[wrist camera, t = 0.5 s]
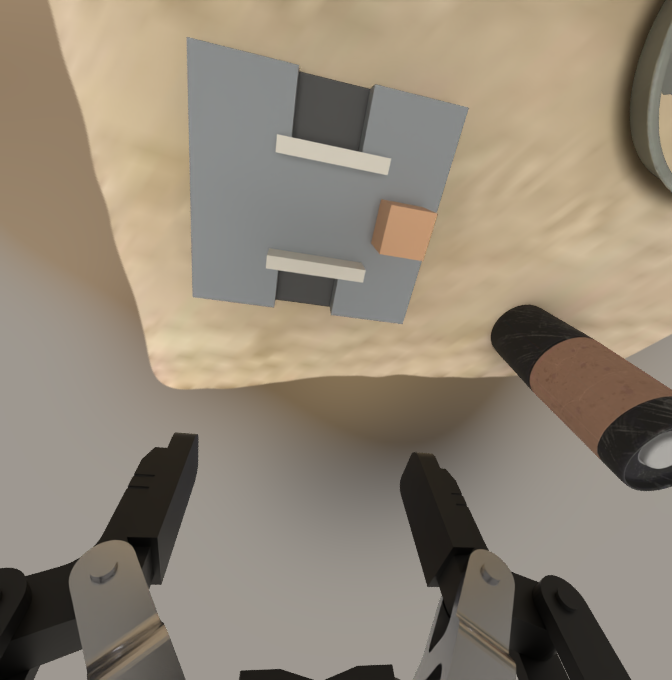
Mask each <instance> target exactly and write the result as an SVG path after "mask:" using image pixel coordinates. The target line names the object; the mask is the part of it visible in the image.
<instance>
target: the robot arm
mask: <svg viewBox="0 0 672 680" xmlns="http://www.w3.org/2000/svg"><path fill="white" fill-rule="evenodd" d="M197 469H198V434H188V433H174V435H173V437H172V439H171V441H170V443H169V446H168V448H159V447H155V448H154V449H153V450H151V452H149V453H148V454H147V455H146V456H145V457H144V458H143V459H142V460H141V462H140V464H139V466H138V468H137V470H136V472H135V474H134V477H133V478H132V479H131V481H130V483H129V485H128V488H127V489H126V491H125V493H124V495H123V497H122V499H121V500H120V502H119V505H118V506H117V508H116V510H115V512H114V514H113V516H112V518H111V520H110V522H109V524H108V525H107V527H106V529H105V531H104V533H103V535H102V537H101V538H100V540H99V541H98V542H97V544H96V545H95V546H94V547H93V548H91V549H90V550H88V551H87V552H86V553H85V554H84V555H83V556H81V557H80V558H79V559H77V560H75V561H73V562H71V563H69V564H66V565H63V566H60V567H57V568H53V569H50V570H46V571H43V572H40V573H35V574H32V575H28V576H24V574H23V573H22V572H21V571H20V570H18V569H14V568H1V569H0V680H34V678H35V675H36V673H37V671H38V669H39V667H40V665H42V664H45V663H47V662H50V661H53V660H55V659H58V658H60V657H63V656H66V655H68V654H71V653H74V652H76V651H79V650H81V649H83V654H84V659H85V663H86V669H87V680H185V677H184V674H183V671H182V669H181V666H180V663H179V661H178V658H177V656H176V653H175V650H174V647H173V645H172V642H171V639H170V637H169V634H168V632H167V629H166V627H165V625H164V623H163V622H161V620H160V618H159V616H158V613H157V611H156V608H155V605H154V602H153V600H152V597H151V594H150V591H149V588H150V585H152V584H155V585H157V584H159V585H161V584H162V581H163V578H164V574H165V572H166V569H167V566H168V562H169V559H170V556H171V553H172V550H173V547H174V544H175V541H176V538H177V535H178V532H179V528H180V525H181V522H182V519H183V516H184V513H185V510H186V507H187V504H188V501H189V498H190V495H191V492H192V488H193V485H194V482H195V478H196V474H197ZM400 492H401V497H402V500H403V504H404V507H405V511H406V514H407V517H408V521H409V524H410V527H411V531H412V535H413V538H414V542H415V545H416V549H417V552H418V555H419V559H420V562H421V566H422V569H423V572H424V576H425V580H426V583H427V587H440V590H441V594H442V596H441V598H440V600H439V603H438V607H437V610H436V614H435V617H434V621H433V624H432V628H431V631H430V634H429V638H428V641H427V645H426V648H425V651H424V655H423V658H422V660H421V663H420V665H419V667H418V669H417V671H416V673H415V676H414V678H413V680H516V674H517V677H518V680H569V678H570V680H631V679H630V677H629V675H628V674H627V672H626V670H625V668H624V667H623V665H622V663H621V661H620V660H619V658H618V656H617V655H616V653H615V651H614V649H613V648H612V646H611V644H610V643H609V641H608V639H607V638H606V636H605V634H604V632H603V631H602V629H601V627H600V626H599V624H598V622H597V620H596V619H595V617H594V615H593V614H592V612H591V610H590V609H589V607H588V605H587V603H586V602H585V601H584V599H583V597H582V596H581V595H580V594H579V592H578V591H577V590H576V589H575V588H574V587H573V586H572V585H571V584H569V583H568V582H567V581H565V580H563V579H562V578H560V577H557V576H553V575H548V576H545V577H544V578H543V579H542V580H541V581H540V582H537V581H534V580H531V579H529V578H526V577H523V576H521V575H518V574H515V573H513V572H511V571H510V569H509V568H508V566H507V565H506V564H505V563H504V562H503V561H502V560H501V559H500V558H499V557H498V556H497V555H495V554H494V553H492V552H489V550H488V548H487V546H486V544H485V542H484V540H483V538H482V536H481V534H480V532H479V529H478V527H477V525H476V523H475V521H474V519H473V517H472V514H471V512H470V510H469V508H468V507H467V505H466V502H465V500H464V497H463V496H462V493H461V491H460V489H459V487H458V485H457V482H456V480H455V479H454V478H453V477H452V476H451V475H450V473H449V472H448V471H447V470H446V469H441V468H440V467H439V464H438V462H437V460H436V458H435V456H434V455H433V454H429V453H417V452H414V453H412V454H411V456H410V459H409V461H408V463H407V466H406V468H405V470H404V472H403V474H402V477H401V480H400ZM557 653H558V654H557ZM509 655H510V656H509ZM558 655H559V657H560V659H561V661H560V659H559V657H558ZM561 662H562V663H561ZM562 664H563V665H562ZM563 666H564V668H565V669H564V668H563ZM565 670H566V672H567V674H568V676H569V678H568V676H567V674H566V672H565ZM239 680H312V679H309V678H306V677H303V676H300V675H297V674H294V673H291V672H288V671H284V670H281V669H271V670H248V671H247V670H246V671H240V677H239ZM326 680H400V679H398V678H395V677H394V672H393V666H392V665H368V666H356V667H354V668H351V669H349V670H347V671H345V672H342V673H340V674H337V675H335V676H333V677H330V678H328V679H326Z"/></svg>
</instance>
